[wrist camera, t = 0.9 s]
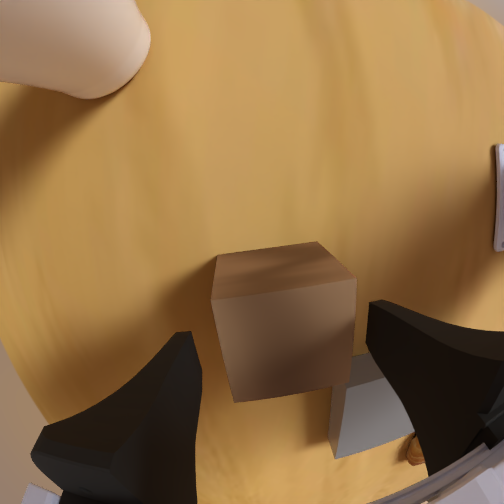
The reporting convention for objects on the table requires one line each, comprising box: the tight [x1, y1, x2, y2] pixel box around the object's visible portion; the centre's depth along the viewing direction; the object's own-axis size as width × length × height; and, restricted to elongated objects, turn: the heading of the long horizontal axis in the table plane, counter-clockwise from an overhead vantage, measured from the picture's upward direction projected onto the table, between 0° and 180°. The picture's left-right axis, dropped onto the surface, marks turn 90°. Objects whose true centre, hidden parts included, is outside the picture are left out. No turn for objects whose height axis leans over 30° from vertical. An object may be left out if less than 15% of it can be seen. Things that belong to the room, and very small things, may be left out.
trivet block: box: [328, 353, 415, 459], centre depth 17 cm, size 9×9×3 cm
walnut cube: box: [211, 242, 357, 403], centre depth 12 cm, size 5×5×5 cm
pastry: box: [407, 436, 425, 466], centre depth 20 cm, size 9×7×4 cm
